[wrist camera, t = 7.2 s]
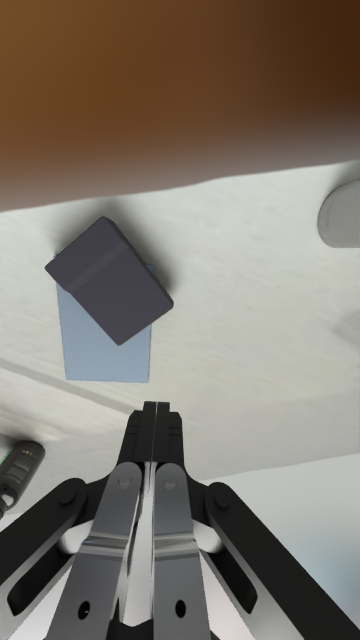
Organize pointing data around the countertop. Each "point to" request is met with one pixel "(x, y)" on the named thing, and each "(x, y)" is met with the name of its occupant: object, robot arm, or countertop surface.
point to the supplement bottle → (18, 472)
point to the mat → (99, 347)
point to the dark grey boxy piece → (110, 281)
